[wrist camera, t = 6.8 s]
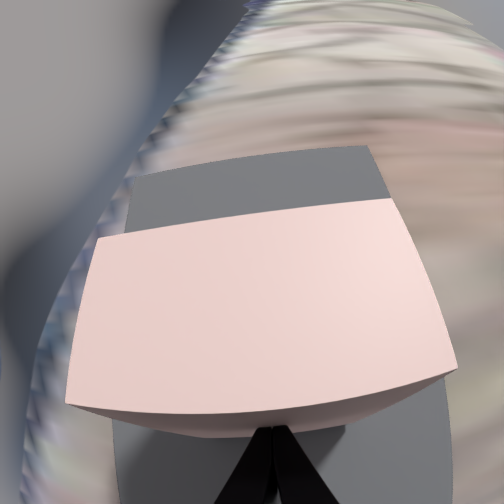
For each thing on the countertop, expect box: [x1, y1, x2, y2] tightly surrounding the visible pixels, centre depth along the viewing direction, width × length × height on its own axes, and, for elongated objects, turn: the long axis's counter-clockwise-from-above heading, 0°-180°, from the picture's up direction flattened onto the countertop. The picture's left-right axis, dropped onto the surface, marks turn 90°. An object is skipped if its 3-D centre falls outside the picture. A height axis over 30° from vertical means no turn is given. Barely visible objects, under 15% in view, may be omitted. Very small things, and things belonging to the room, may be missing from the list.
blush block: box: [65, 198, 458, 438], centre depth 9 cm, size 4×7×10 cm, turn 95°
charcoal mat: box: [112, 145, 453, 504], centre depth 15 cm, size 28×18×1 cm, turn 5°
